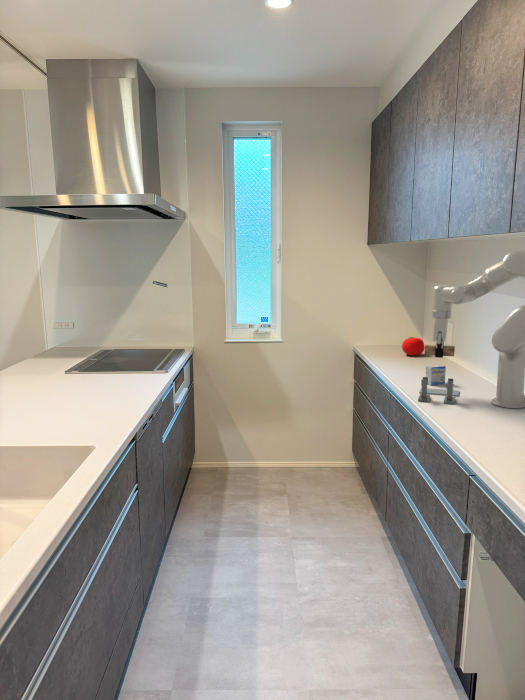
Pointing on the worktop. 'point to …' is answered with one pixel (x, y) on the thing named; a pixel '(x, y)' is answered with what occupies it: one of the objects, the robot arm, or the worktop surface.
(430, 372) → the medicine box
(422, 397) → the stand
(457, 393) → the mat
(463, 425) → the worktop surface
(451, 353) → the tan wooden bar
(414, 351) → the tomato
